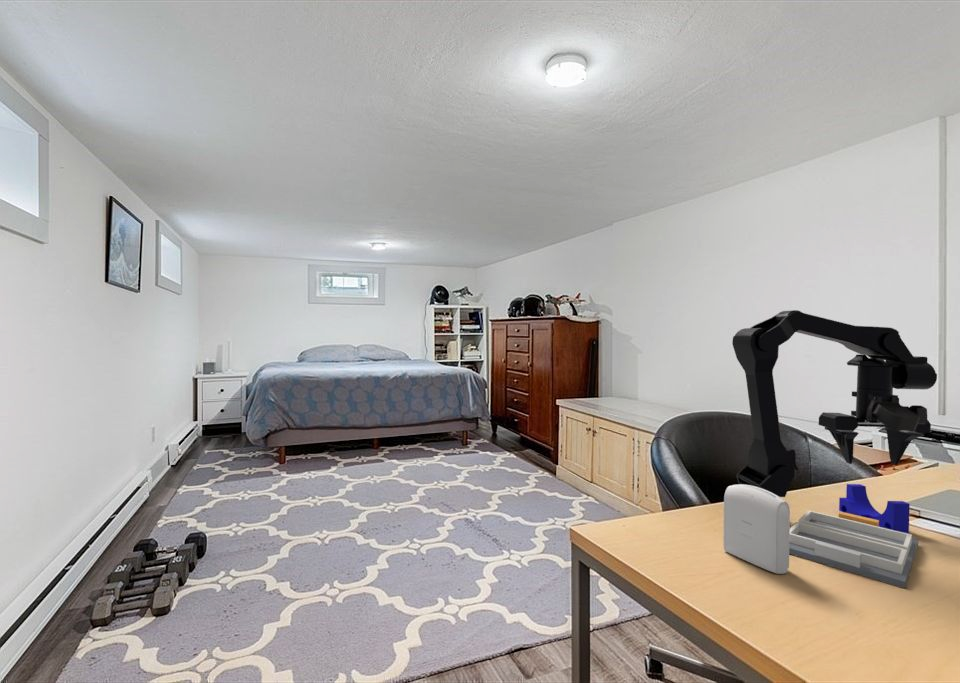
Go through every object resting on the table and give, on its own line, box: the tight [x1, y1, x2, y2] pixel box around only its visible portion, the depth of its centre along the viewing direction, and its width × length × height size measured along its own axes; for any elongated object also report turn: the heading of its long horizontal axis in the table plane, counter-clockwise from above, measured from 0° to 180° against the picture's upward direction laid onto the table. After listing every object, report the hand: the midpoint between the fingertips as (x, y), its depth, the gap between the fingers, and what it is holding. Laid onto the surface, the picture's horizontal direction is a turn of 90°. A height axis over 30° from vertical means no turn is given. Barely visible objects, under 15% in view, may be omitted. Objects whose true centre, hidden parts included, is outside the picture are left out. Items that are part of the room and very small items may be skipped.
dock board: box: [789, 509, 919, 589], centre depth 86 cm, size 22×17×3 cm
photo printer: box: [723, 483, 791, 575], centre depth 80 cm, size 10×4×12 cm, turn 26°
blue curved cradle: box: [838, 483, 911, 534], centre depth 98 cm, size 12×4×6 cm, turn 0°
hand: (871, 464), depth 98 cm, fingers open, 9 cm apart
